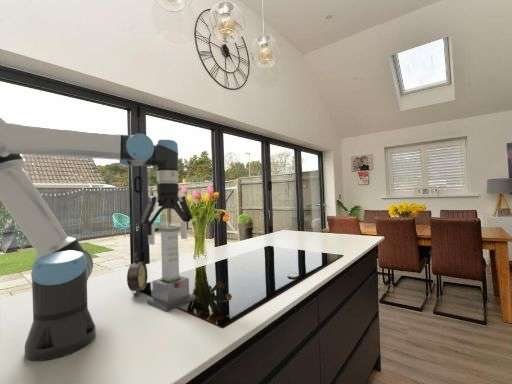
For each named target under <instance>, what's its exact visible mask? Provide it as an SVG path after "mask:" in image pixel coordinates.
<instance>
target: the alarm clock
mask: <svg viewBox="0 0 512 384" xmlns="http://www.w3.org/2000/svg"><path fill="white" fill-rule="evenodd" d="M138 254H139V252H137V251H136V252H135V254H134V261H135V262H133V263H131V264H130V266H129V267H128V269H127V274H126V283H127V286H128V289H129V290H130V291H131V293H133V292H135V297H138V294H139V292H140V291H144V290H146V289H145V288H146V286H147V284H148V268H147V264H146V263H145V262H144V261H139V260H138V258H139V255H138ZM138 261H139V262H138Z"/></svg>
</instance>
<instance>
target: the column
mask: <svg viewBox="0 0 512 384" xmlns="http://www.w3.org/2000/svg"><path fill="white" fill-rule="evenodd" d="M179 231H180V232H181V226H179V227H177V226H163V227H159V228H158V232H160V242H161V246H160V247H161V250H160V251H161V278H162V281H164V282H167V283H171V282H174V281H177V280H179V279H180V276H181V275H180V266H179V265H180V264H179V263H180V260H179V259H180V258H179V257H180V256H179Z"/></svg>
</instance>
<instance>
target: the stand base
mask: <svg viewBox="0 0 512 384" xmlns="http://www.w3.org/2000/svg"><path fill="white" fill-rule="evenodd" d="M179 276H180V279H179V280H177V281H174V282H171V283H167V282H164V281H162V277H161V278H158V279H154V280H152V297H151V298H150V297H149V298H147V299H146V304H147V305H149V306H151V307H154V308H155V309H159V310H161V311H163V312H166V313H167V312H170V311H173V310H175V309H177V308H179V307H181V306H184V305H186V304H188V303H191V302H194V301H196V295H194V294H192V293H190V279H189V277H186V276H185V277H184V276H181V275H179Z"/></svg>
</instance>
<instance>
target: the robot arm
mask: <svg viewBox="0 0 512 384" xmlns="http://www.w3.org/2000/svg"><path fill="white" fill-rule="evenodd" d="M178 148H179V147H178V143H177V142H176V141H175V140H172V139H158V140H156V144H154V142H153V140H152V139H151V138H150V137H149V136H148V135H146V134H144V133H134V134H132V135H129V134H121V133H120V134H119V133H110V132H109V133H108V132H100V131H99V132H98V131H89V130H79V129H70V128H59V127H49V126H41V125H31V124H22V123H13V122H9V121H8V120H7V119H6V118H2V117H0V202H1V203H2V205H3V206H4V207H5V209H6V210H7V211H8V214H10V216H11V217H12V219H13V220H14V222H15V223H16V224H17V227H18V229H20V231H21V232H22V233H23V235H24V236H25V238H26V240H27V241H28V242H29V243H30V245H31V246H32V248H33V249H34V251H35V252H36V253H35V257H34V259H33V261H34V262H33V264H32V268H31V273H30V274H31V282H32V283H31V285H32V287H31V288H32V291H31V293H32V314H33V315H32V323H31V326H30V329H29V332H28V335H27V338H26V341H25V343H24V357H25V358H26V359H28V360H30V361H47V360H52V359H57V358H60V357H64V356H67V355H70V354H72V353H74V352H77V351H78V350H81V349H83V348H85V346H87V345H88V344H90V343H91V342H92V341H93V340H94V339H95V337H96V334H97V333H96V328H97V327H96V324H95V322H94V320H93V318H92V315H91V313H90V310H89V307H88V280H89V278H90V276H91V275H92V272H93V270H94V262H93V260H94V259H93V257H92V255H91V254H90V253H89V252H88V251H87V250H86V249H84V248H83V246H82V245H81V243H80V242H79V240H78V239H77V238H76V237H73V236H72V237H71V236H68V234H67V233H66V231H65V230H64V228H63V226H62V225H61V224H60V222H59V220H58V219H57V217H56V216H55V214H54V213H53V211H52V210H51V208H50V207H49V206H48V203H46V200H45V198H43V196H42V195H41V193H40V191H39V190H38V189H37V188H36V186H35V184H34V183H33V181H32V180H31V178H30V176H29V175H28V174H27V172H26V170H25V169H24V167H25V164H26V163H27V162H26V160H25V158H24V156H23V155H29V156H30V155H34V156H49V157H50V156H51V157H66V158H83V159H84V158H85V159H98V160H99V159H100V160H101V159H102V160H116V161H117V160H118V161H119V164H120V165H121V166H129V167H134V166H135V167H156V182H157V184H156V193H157V196H154V195H153V196H149V197H148V203H147V205H146V208H145V211H144V212H143V214H142V216H141V219H140V221H139V224H141V225H144V226H145V234H146V235H147V244H148V245H152V246H153V245H155V243H156V241H155V239H156V238H155V225H153V224H154V223H155V221H156V220H157V219H158V217H159V215H160V214H161V212H162V211H163V210H164V209H172V210H174V211H175V213H176V214H177V215H178V216H179V218H180V219H181V220H182V221H180V239H182V240H187V239H188V230H189V222H190V221H191V220H193V218H194V217H193V215H192V213H191V211H190V208H189V206H188V203H187V200H186V196H185V195H179V191H180V189H179V184H178V182H179V149H178ZM178 202H179V203H178ZM156 203H157V205H156ZM155 205H156V206H155ZM154 208H155V209H154Z"/></svg>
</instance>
